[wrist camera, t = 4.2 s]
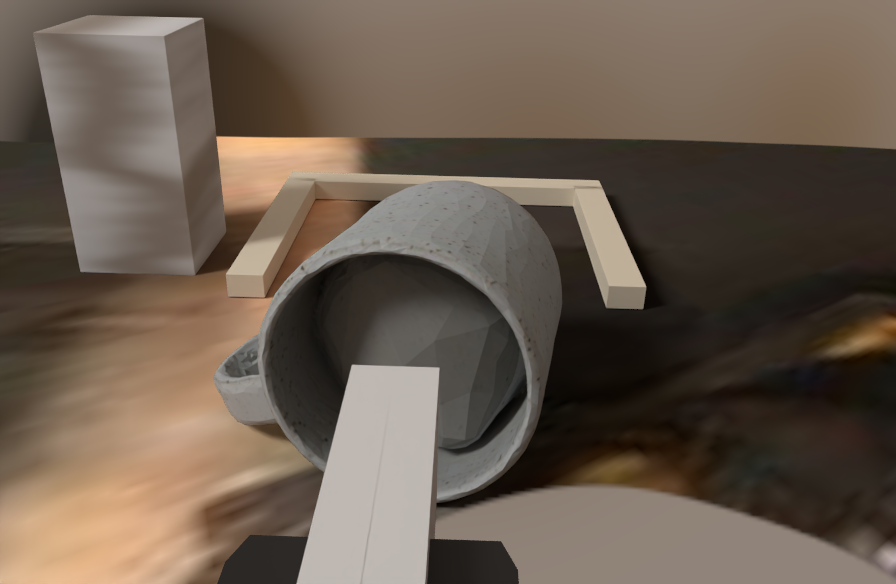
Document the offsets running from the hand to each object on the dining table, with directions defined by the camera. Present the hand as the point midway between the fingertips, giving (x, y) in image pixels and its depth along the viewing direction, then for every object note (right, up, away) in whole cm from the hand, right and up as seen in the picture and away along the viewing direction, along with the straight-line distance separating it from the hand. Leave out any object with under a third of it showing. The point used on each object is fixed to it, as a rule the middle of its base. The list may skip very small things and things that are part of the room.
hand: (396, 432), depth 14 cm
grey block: (-13, +4, +23) cm, 27 cm away
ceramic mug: (-1, -2, +12) cm, 12 cm away
